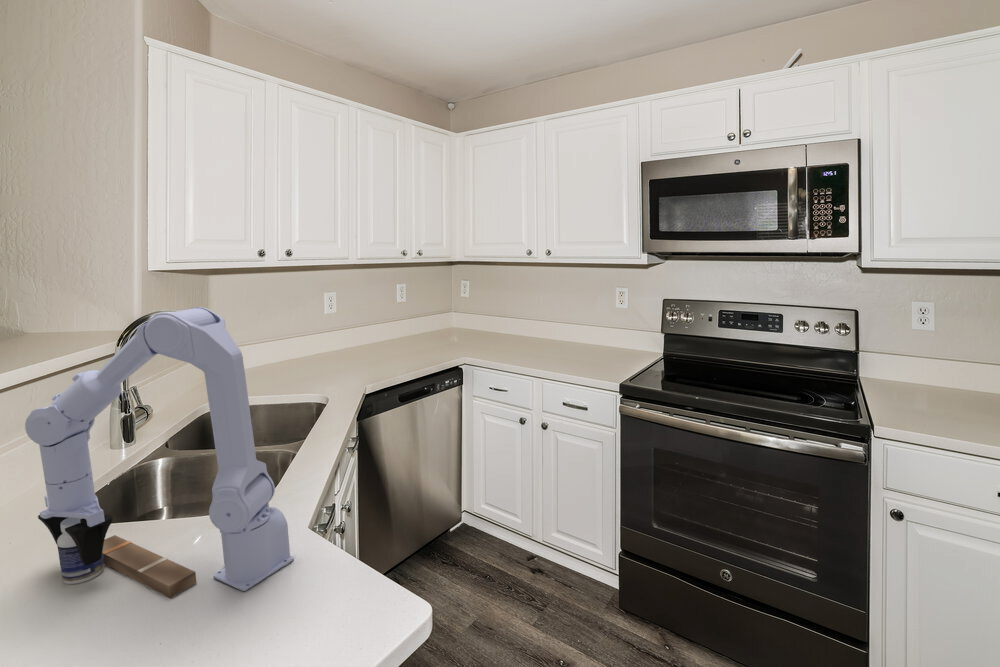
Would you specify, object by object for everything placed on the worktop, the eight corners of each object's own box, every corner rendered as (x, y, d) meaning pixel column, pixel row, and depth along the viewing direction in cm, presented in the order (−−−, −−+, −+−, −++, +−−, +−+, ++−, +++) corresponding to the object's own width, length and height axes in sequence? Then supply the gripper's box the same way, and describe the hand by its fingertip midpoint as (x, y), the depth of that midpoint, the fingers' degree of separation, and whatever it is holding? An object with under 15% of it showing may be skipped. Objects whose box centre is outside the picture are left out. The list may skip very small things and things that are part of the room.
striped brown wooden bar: (116, 545, 91) (115, 534, 91) (196, 583, 80) (195, 570, 80) (90, 557, 88) (88, 545, 88) (170, 598, 77) (168, 585, 76)
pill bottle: (103, 577, 82) (95, 521, 81) (59, 589, 79) (50, 531, 78) (106, 561, 87) (99, 508, 85) (66, 572, 84) (57, 517, 82)
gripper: (16, 477, 80) (29, 556, 82) (60, 496, 73) (73, 582, 75) (69, 461, 86) (80, 535, 88) (114, 477, 80) (125, 557, 82)
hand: (80, 555), depth 82 cm, fingers open, 7 cm apart
